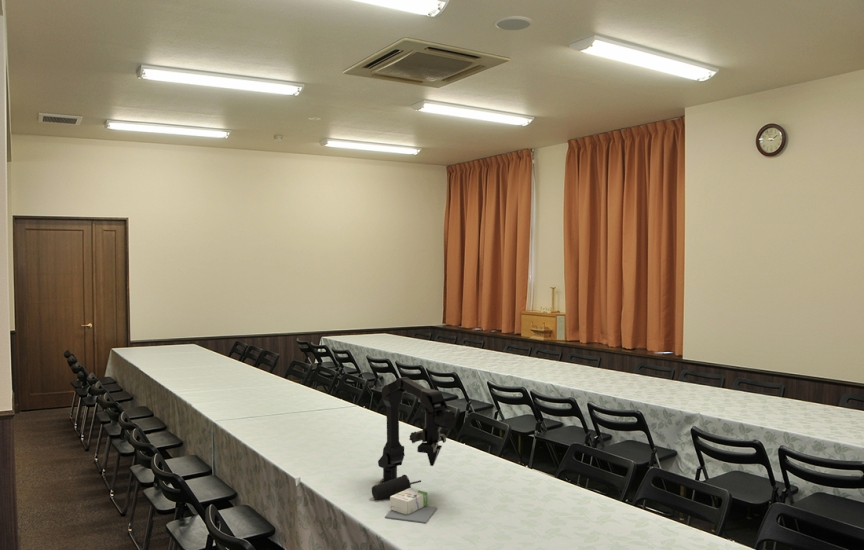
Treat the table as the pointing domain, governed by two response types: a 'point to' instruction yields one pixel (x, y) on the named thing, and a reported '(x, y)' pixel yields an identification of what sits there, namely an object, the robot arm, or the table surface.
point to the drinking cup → (392, 487)
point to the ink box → (408, 501)
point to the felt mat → (413, 515)
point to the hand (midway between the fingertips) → (432, 465)
